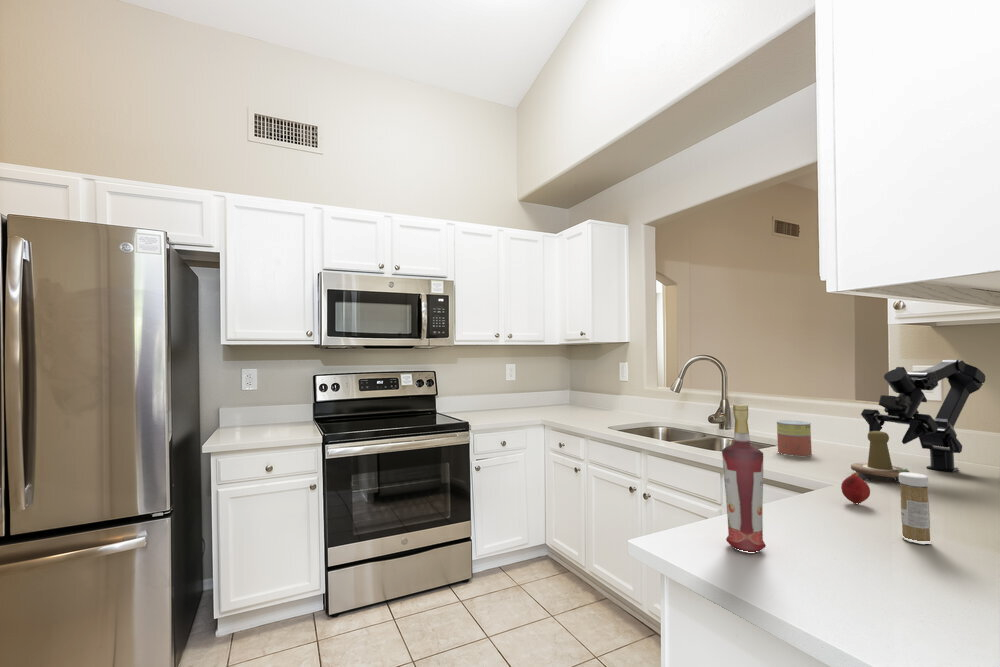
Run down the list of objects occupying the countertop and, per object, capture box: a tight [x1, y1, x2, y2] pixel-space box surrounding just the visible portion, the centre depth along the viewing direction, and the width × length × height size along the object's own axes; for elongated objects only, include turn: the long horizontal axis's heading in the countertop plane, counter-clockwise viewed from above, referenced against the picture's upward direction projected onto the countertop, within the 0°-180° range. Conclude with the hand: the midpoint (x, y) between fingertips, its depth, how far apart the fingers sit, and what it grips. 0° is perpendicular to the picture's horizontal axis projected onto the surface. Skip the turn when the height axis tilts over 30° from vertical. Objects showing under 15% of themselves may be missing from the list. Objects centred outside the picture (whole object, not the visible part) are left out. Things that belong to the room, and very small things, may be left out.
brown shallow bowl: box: [850, 462, 910, 483], centre depth 144 cm, size 14×14×4 cm
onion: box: [840, 471, 871, 505], centre depth 119 cm, size 6×6×8 cm
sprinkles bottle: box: [898, 471, 931, 541], centre depth 95 cm, size 5×5×13 cm
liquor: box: [721, 404, 766, 552], centre depth 92 cm, size 7×7×28 cm
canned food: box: [776, 420, 813, 457], centre depth 181 cm, size 11×11×12 cm
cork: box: [867, 430, 893, 470], centre depth 144 cm, size 6×6×11 cm
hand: (886, 440), depth 146 cm, fingers open, 9 cm apart
